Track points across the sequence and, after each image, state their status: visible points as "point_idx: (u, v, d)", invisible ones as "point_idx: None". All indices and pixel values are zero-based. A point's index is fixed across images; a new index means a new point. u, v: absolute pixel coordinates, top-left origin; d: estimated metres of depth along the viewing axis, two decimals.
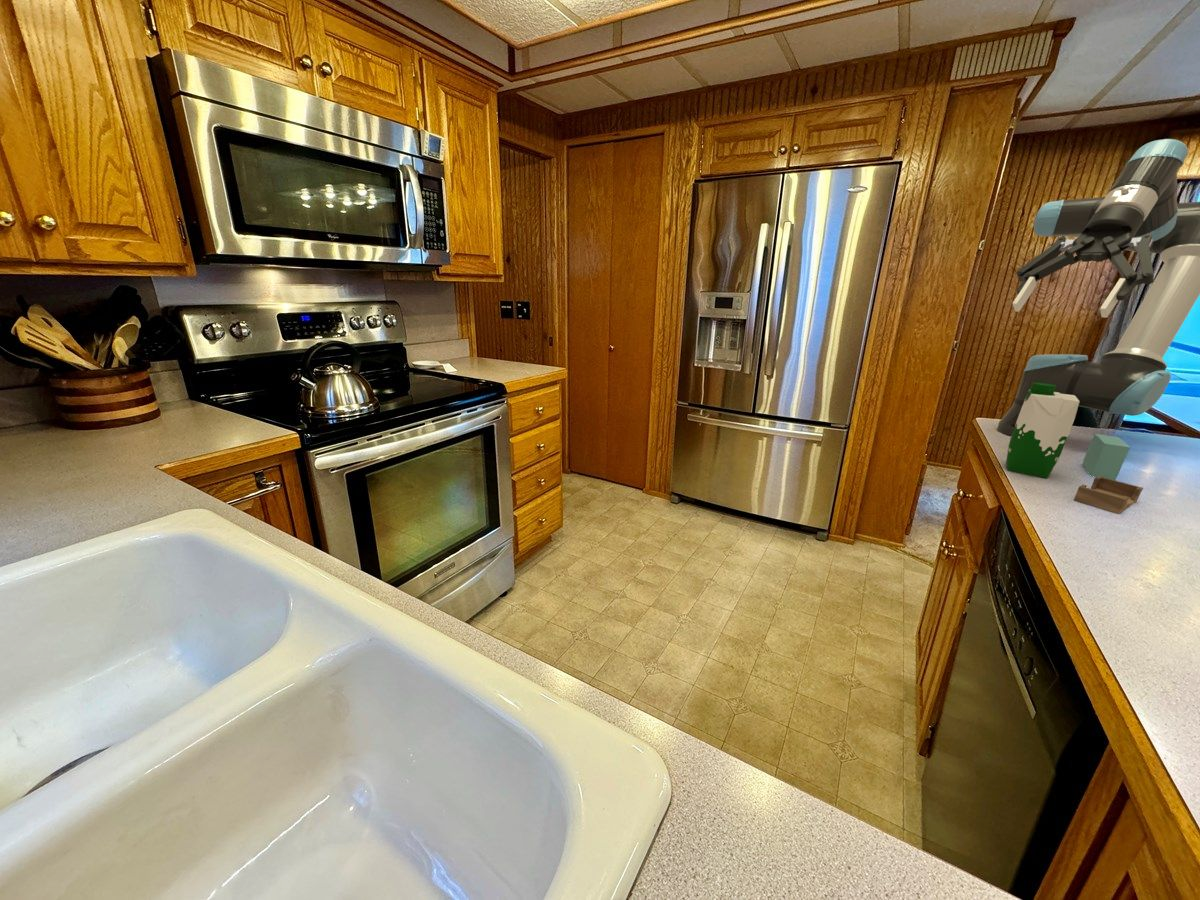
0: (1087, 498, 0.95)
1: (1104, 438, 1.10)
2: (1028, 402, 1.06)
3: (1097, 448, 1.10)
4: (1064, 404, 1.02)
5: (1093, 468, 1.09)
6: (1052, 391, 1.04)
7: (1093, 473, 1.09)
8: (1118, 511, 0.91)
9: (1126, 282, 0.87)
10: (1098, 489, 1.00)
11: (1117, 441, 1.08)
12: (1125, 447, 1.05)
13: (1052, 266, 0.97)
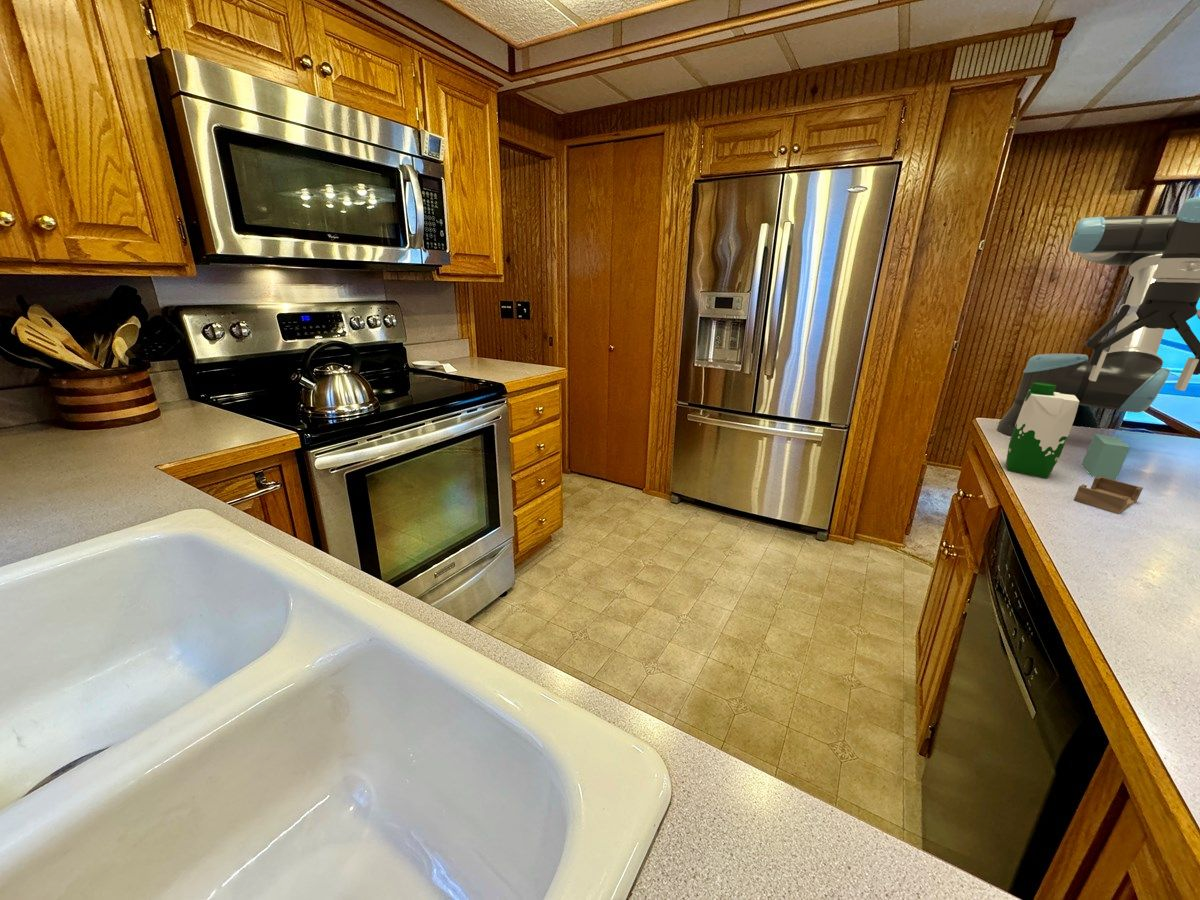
0: (1087, 498, 0.95)
1: (1104, 438, 1.10)
2: (1028, 402, 1.06)
3: (1097, 448, 1.10)
4: (1064, 404, 1.02)
5: (1093, 468, 1.09)
6: (1052, 391, 1.04)
7: (1093, 473, 1.09)
8: (1118, 511, 0.91)
9: (1198, 360, 0.98)
10: (1098, 489, 1.00)
11: (1117, 441, 1.08)
12: (1125, 447, 1.05)
13: (1121, 338, 1.03)
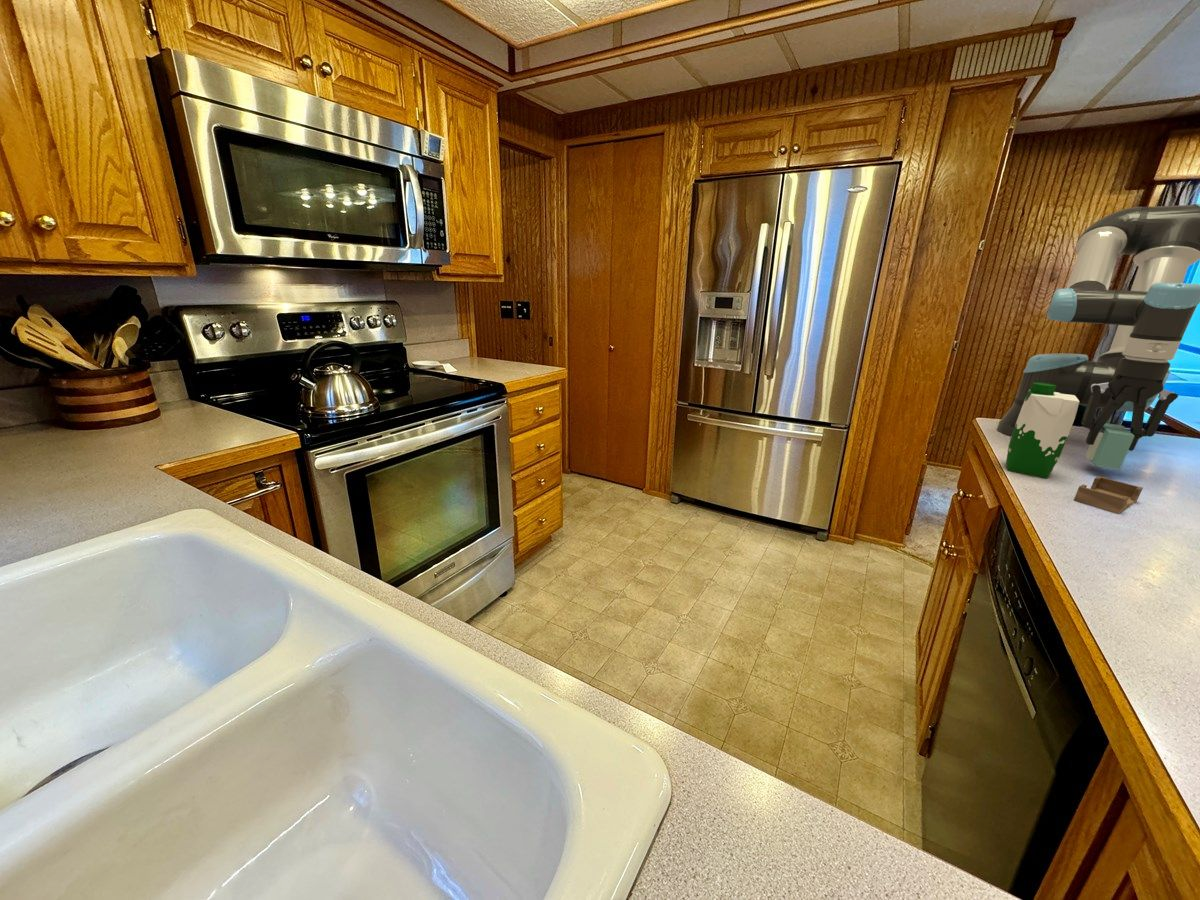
0: (1087, 498, 0.95)
1: (1108, 427, 1.09)
2: (1028, 402, 1.06)
3: None
4: (1064, 404, 1.02)
5: (1097, 457, 1.09)
6: (1052, 391, 1.04)
7: (1097, 462, 1.08)
8: (1118, 511, 0.91)
9: None
10: (1098, 489, 1.00)
11: (1121, 430, 1.08)
12: (1129, 436, 1.04)
13: None
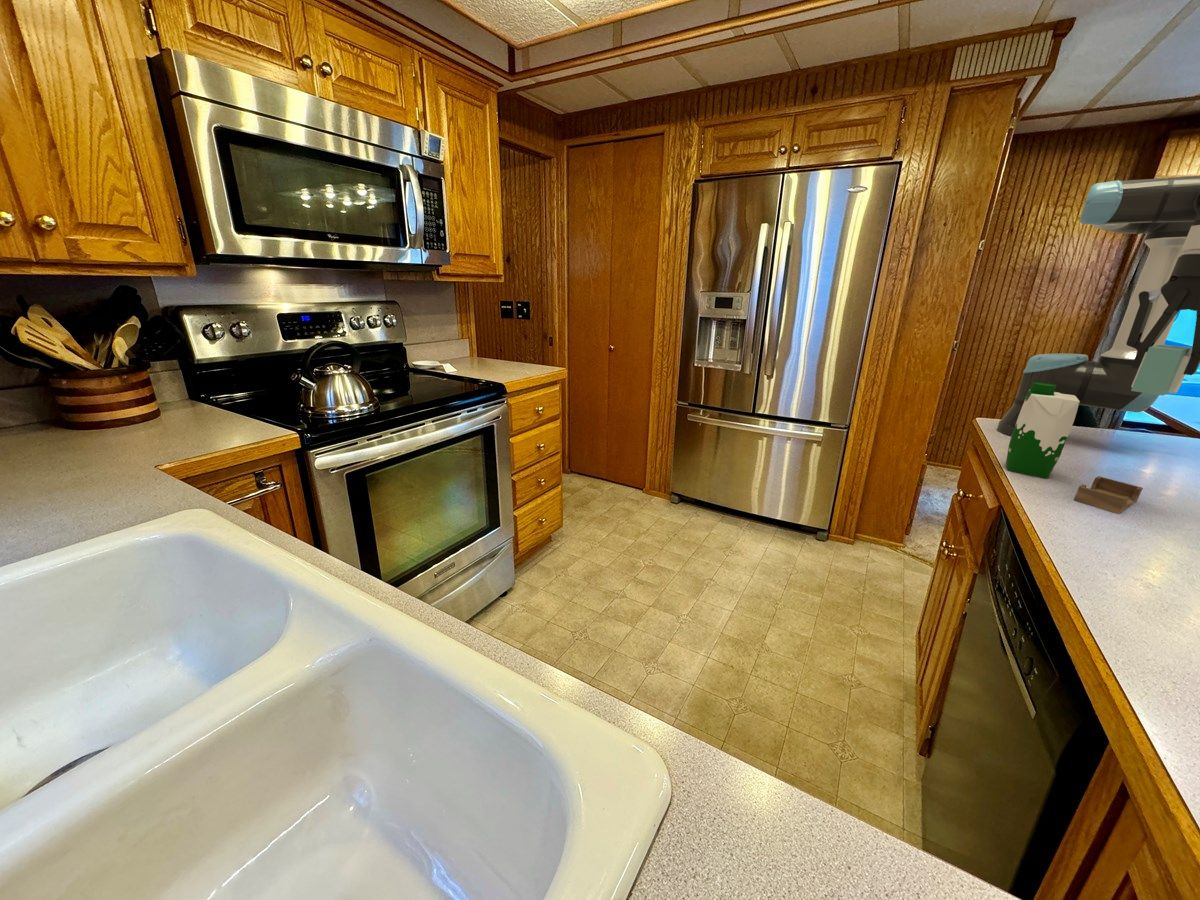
0: (1087, 498, 0.95)
1: (1164, 346, 0.88)
2: (1028, 402, 1.06)
3: None
4: (1064, 404, 1.02)
5: None
6: (1052, 391, 1.04)
7: (1134, 386, 0.88)
8: (1118, 511, 0.91)
9: (1192, 358, 0.84)
10: (1098, 489, 1.00)
11: (1179, 348, 0.85)
12: (1176, 350, 0.83)
13: (1162, 329, 0.87)
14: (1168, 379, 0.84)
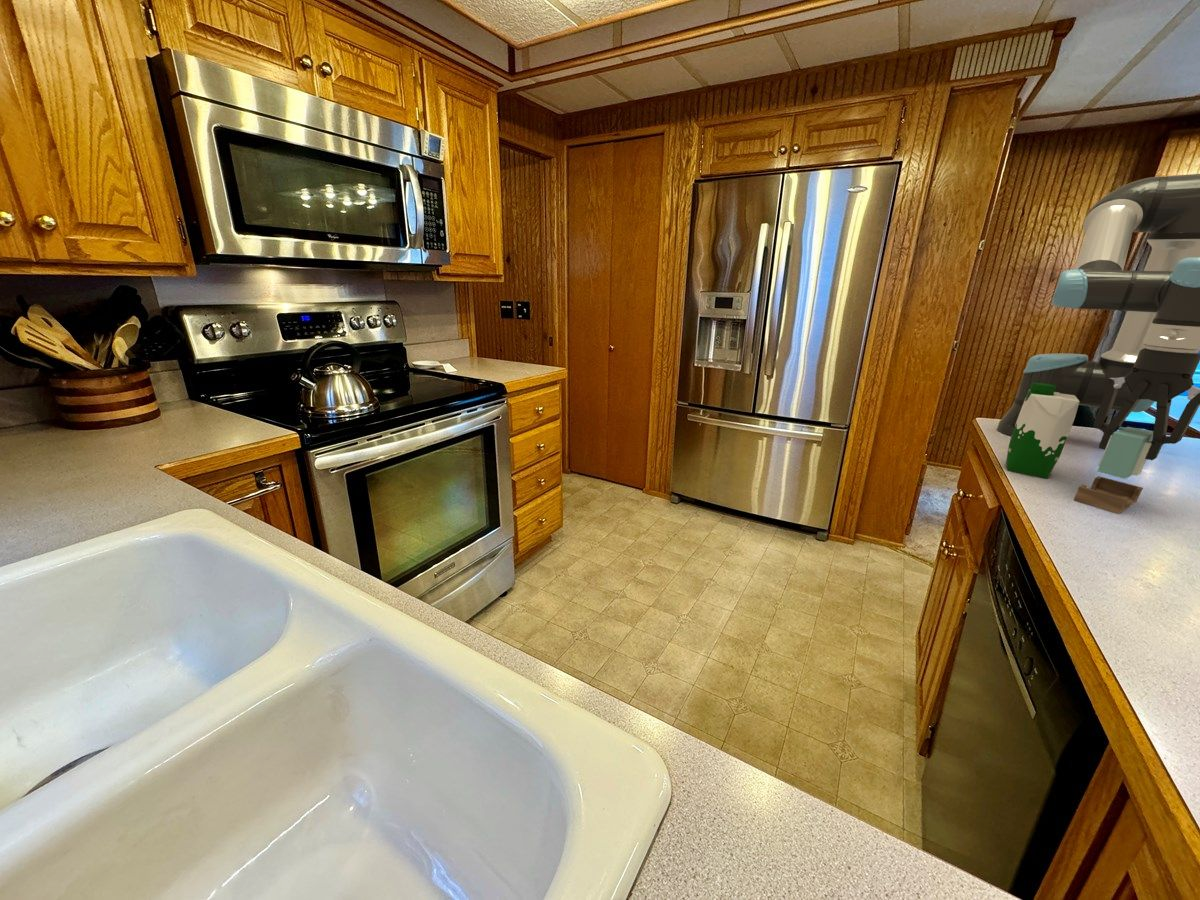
0: (1087, 498, 0.95)
1: (1128, 430, 0.93)
2: (1028, 402, 1.06)
3: None
4: (1064, 404, 1.02)
5: None
6: (1052, 391, 1.04)
7: (1100, 468, 0.93)
8: (1118, 511, 0.91)
9: (1152, 445, 0.90)
10: (1098, 489, 1.00)
11: (1141, 434, 0.91)
12: (1138, 438, 0.88)
13: (1126, 415, 0.92)
14: (1130, 464, 0.90)
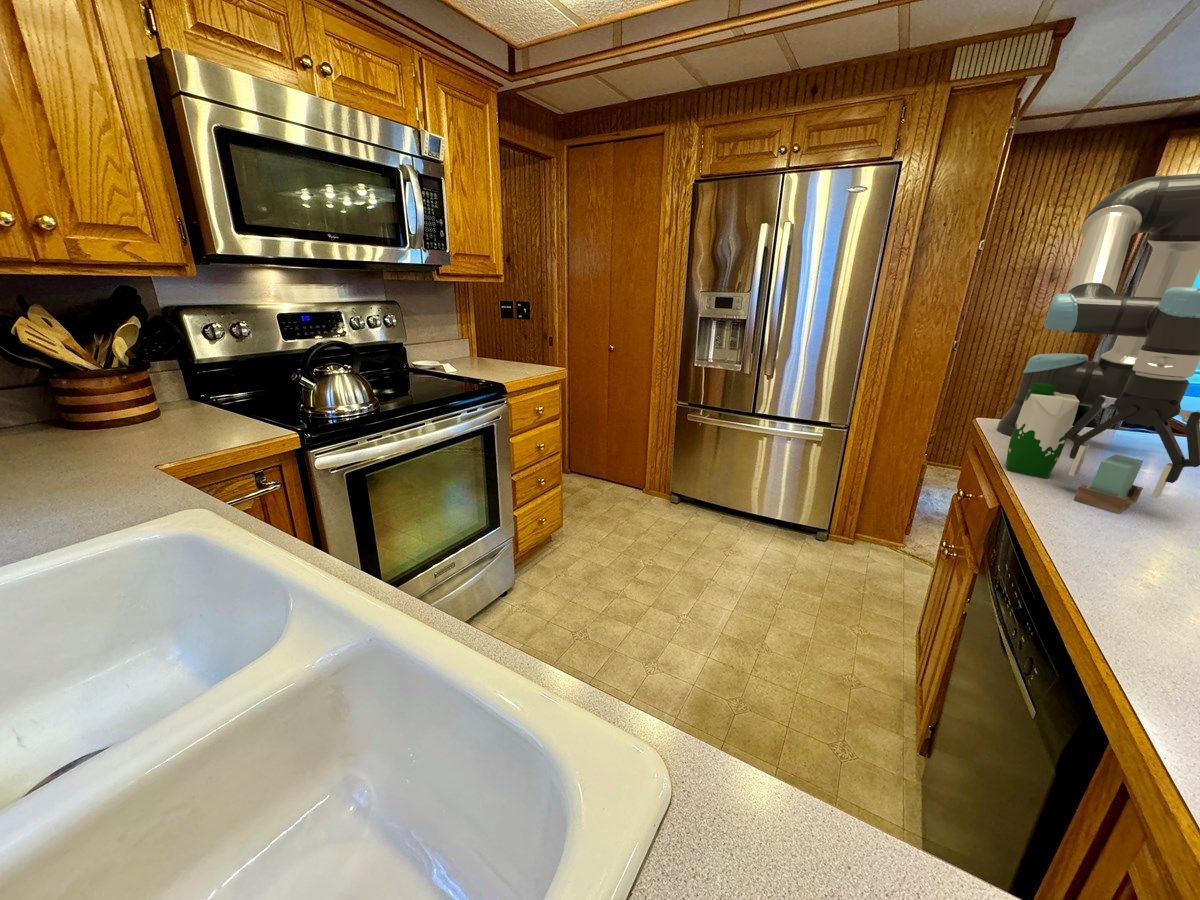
0: (1087, 498, 0.95)
1: (1116, 458, 0.95)
2: (1028, 402, 1.06)
3: None
4: (1064, 404, 1.02)
5: None
6: (1052, 391, 1.04)
7: None
8: (1118, 511, 0.91)
9: (1173, 468, 0.88)
10: None
11: (1128, 462, 0.93)
12: (1124, 468, 0.91)
13: None
14: (1117, 492, 0.92)
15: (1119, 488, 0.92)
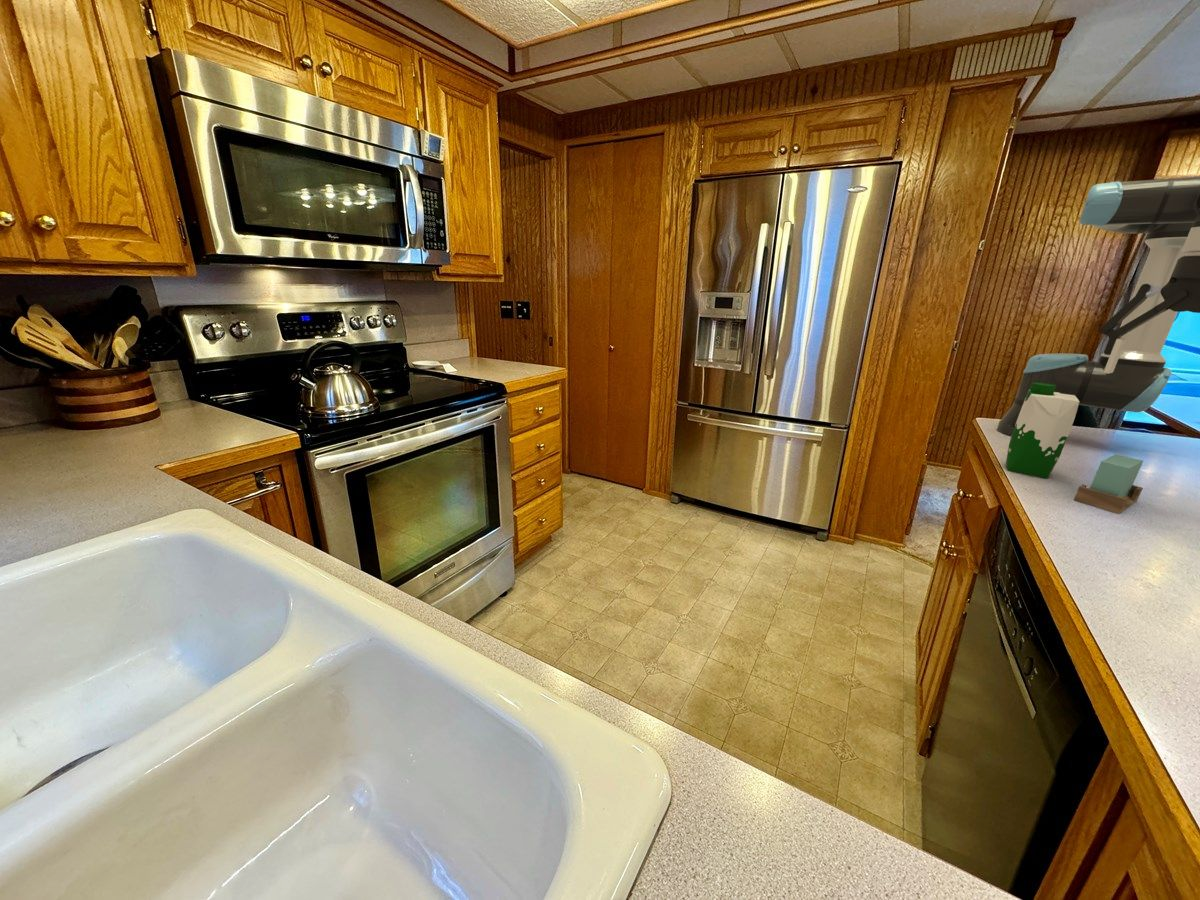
0: (1087, 498, 0.95)
1: (1116, 458, 0.95)
2: (1028, 402, 1.06)
3: None
4: (1064, 404, 1.02)
5: None
6: (1052, 391, 1.04)
7: None
8: (1118, 511, 0.91)
9: None
10: None
11: (1128, 462, 0.93)
12: (1124, 468, 0.91)
13: (1141, 323, 0.89)
14: (1117, 492, 0.92)
15: (1119, 488, 0.92)
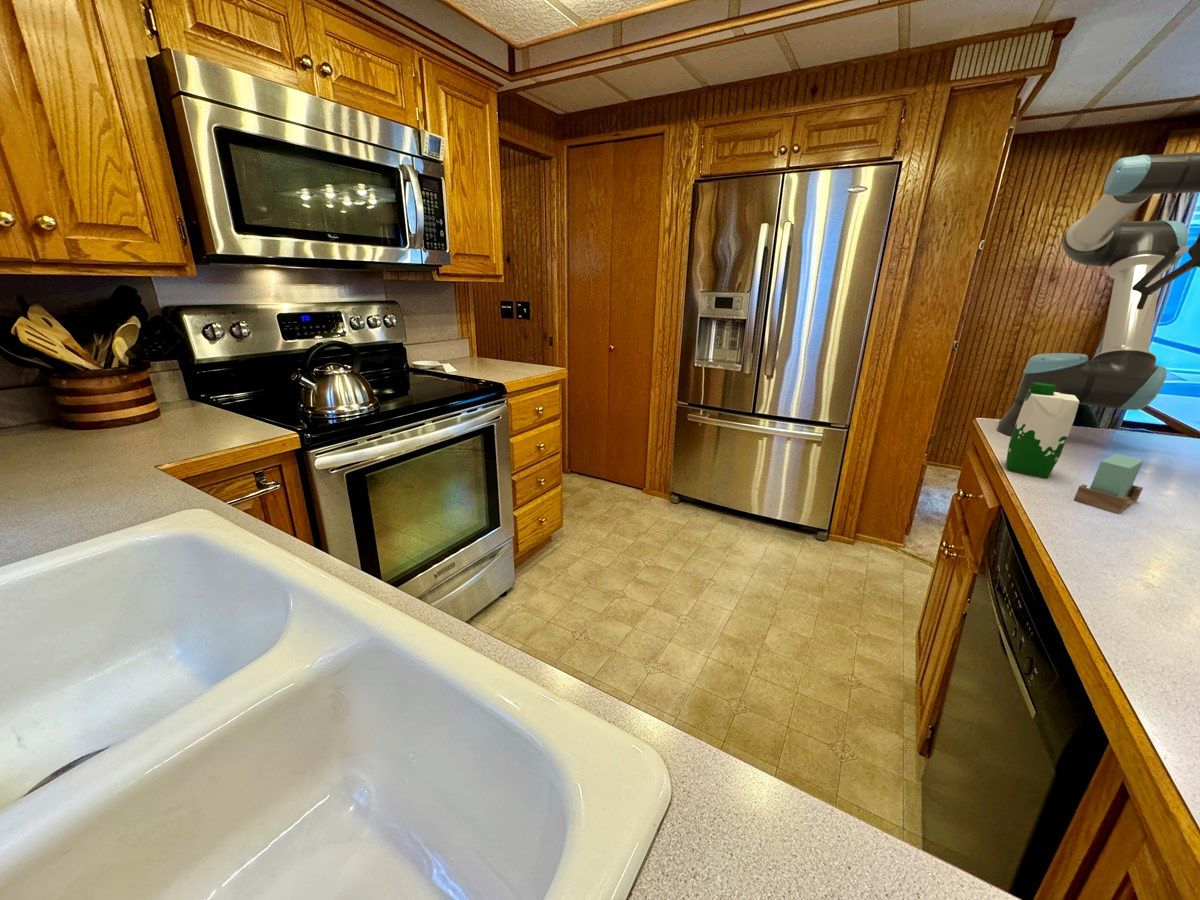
0: (1087, 498, 0.95)
1: (1116, 458, 0.95)
2: (1028, 402, 1.06)
3: None
4: (1064, 404, 1.02)
5: None
6: (1052, 391, 1.04)
7: None
8: (1118, 511, 0.91)
9: None
10: None
11: (1128, 462, 0.93)
12: (1124, 468, 0.91)
13: (1171, 279, 1.01)
14: (1117, 492, 0.92)
15: (1119, 488, 0.92)
